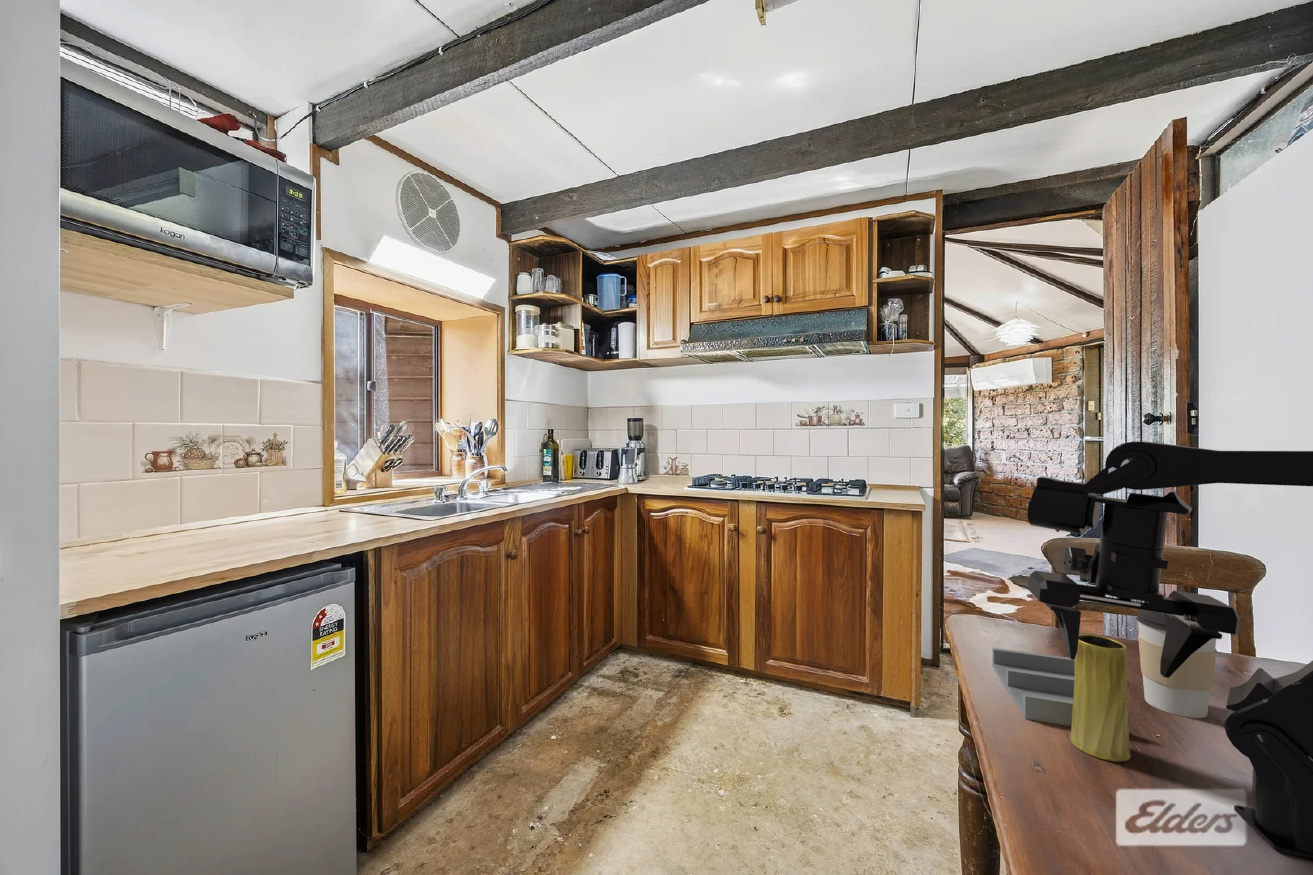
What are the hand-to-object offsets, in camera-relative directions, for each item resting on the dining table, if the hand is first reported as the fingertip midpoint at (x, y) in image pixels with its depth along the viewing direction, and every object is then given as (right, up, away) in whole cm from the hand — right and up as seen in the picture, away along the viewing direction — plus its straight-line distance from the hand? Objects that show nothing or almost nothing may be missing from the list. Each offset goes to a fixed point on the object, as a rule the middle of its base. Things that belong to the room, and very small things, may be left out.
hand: (1116, 666), depth 64 cm
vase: (+2, -13, +5) cm, 14 cm away
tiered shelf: (+6, -13, +18) cm, 23 cm away
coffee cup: (+23, -13, +16) cm, 31 cm away
